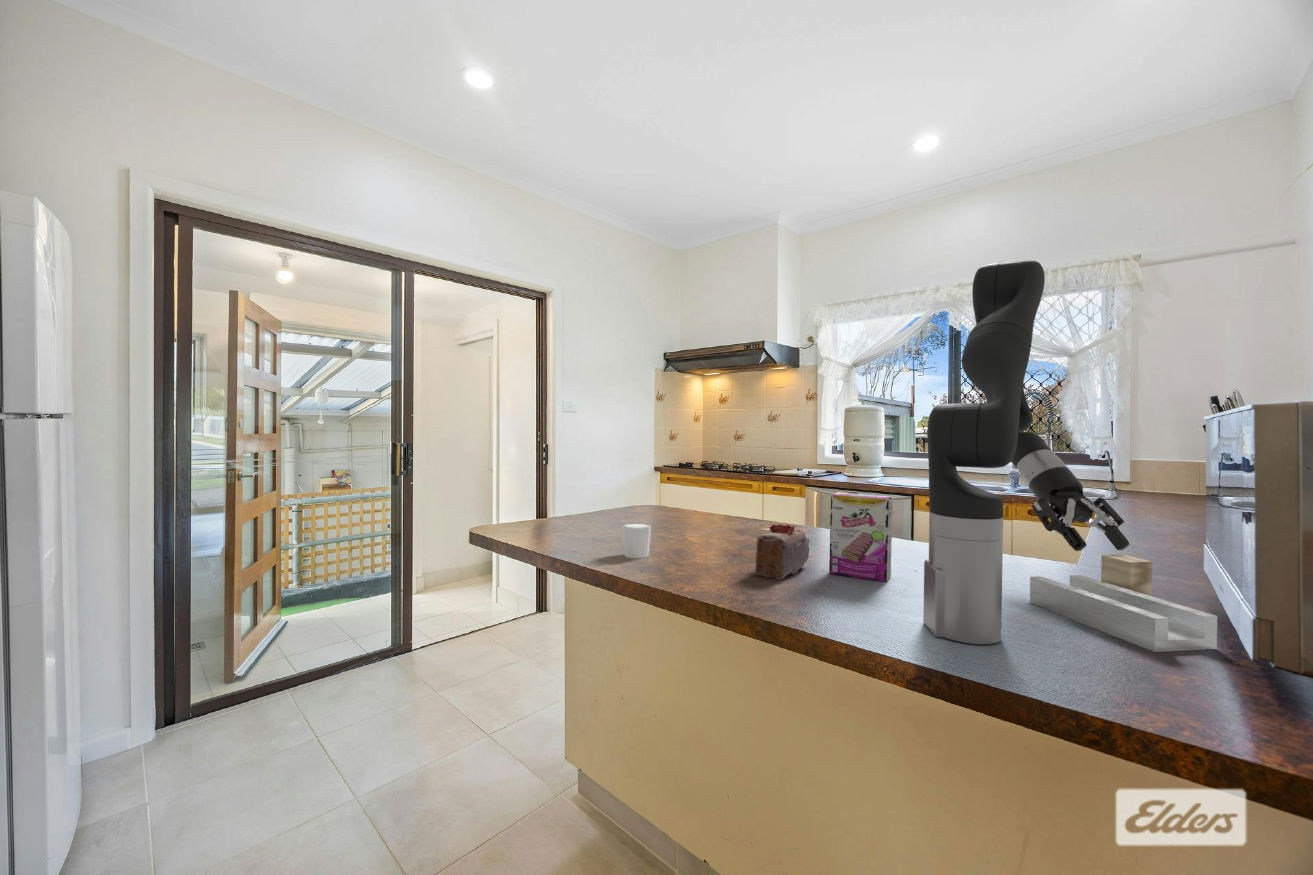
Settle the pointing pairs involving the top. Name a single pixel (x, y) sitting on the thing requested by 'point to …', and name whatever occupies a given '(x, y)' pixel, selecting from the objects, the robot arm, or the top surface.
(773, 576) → the food item
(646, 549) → the white cylinder
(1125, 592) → the rail
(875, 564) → the candy bar box
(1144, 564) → the oak block
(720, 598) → the top surface
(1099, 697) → the top surface
